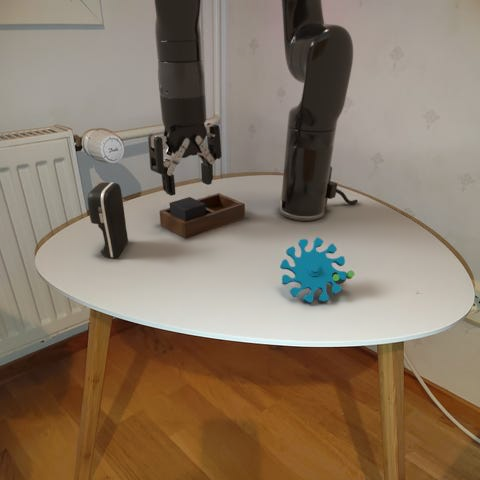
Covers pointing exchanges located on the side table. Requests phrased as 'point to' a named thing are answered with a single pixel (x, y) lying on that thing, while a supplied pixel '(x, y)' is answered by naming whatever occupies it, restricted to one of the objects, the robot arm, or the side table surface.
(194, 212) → the black block
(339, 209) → the side table surface
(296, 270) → the gear
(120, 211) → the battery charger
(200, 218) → the wooden divided tray
